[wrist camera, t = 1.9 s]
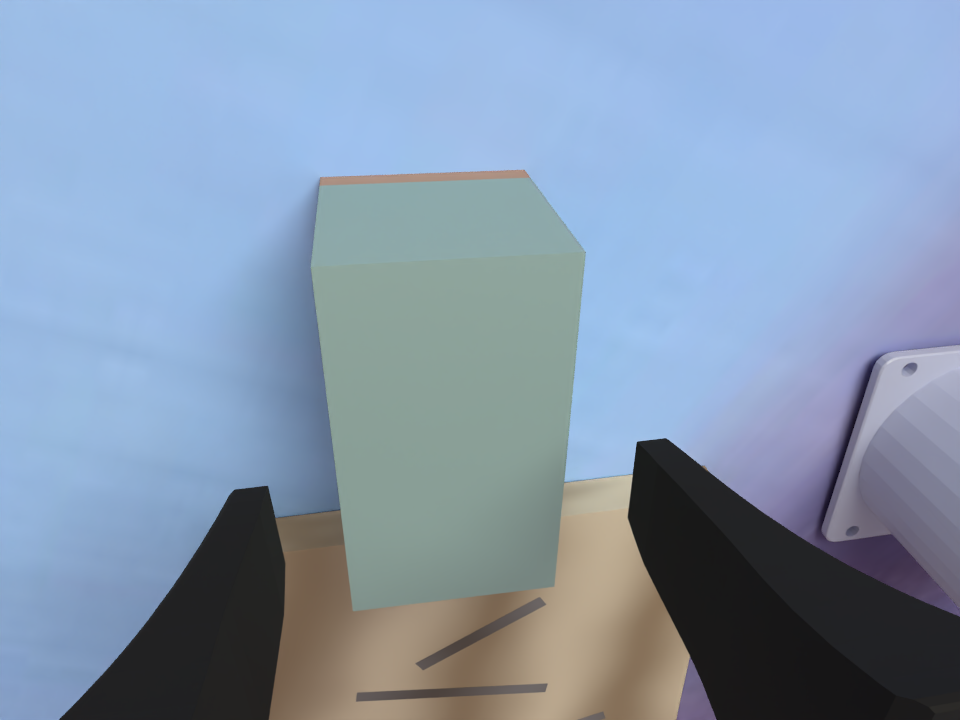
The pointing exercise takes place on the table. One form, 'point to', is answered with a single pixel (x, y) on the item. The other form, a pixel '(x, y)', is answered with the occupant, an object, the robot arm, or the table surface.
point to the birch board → (484, 633)
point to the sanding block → (446, 379)
